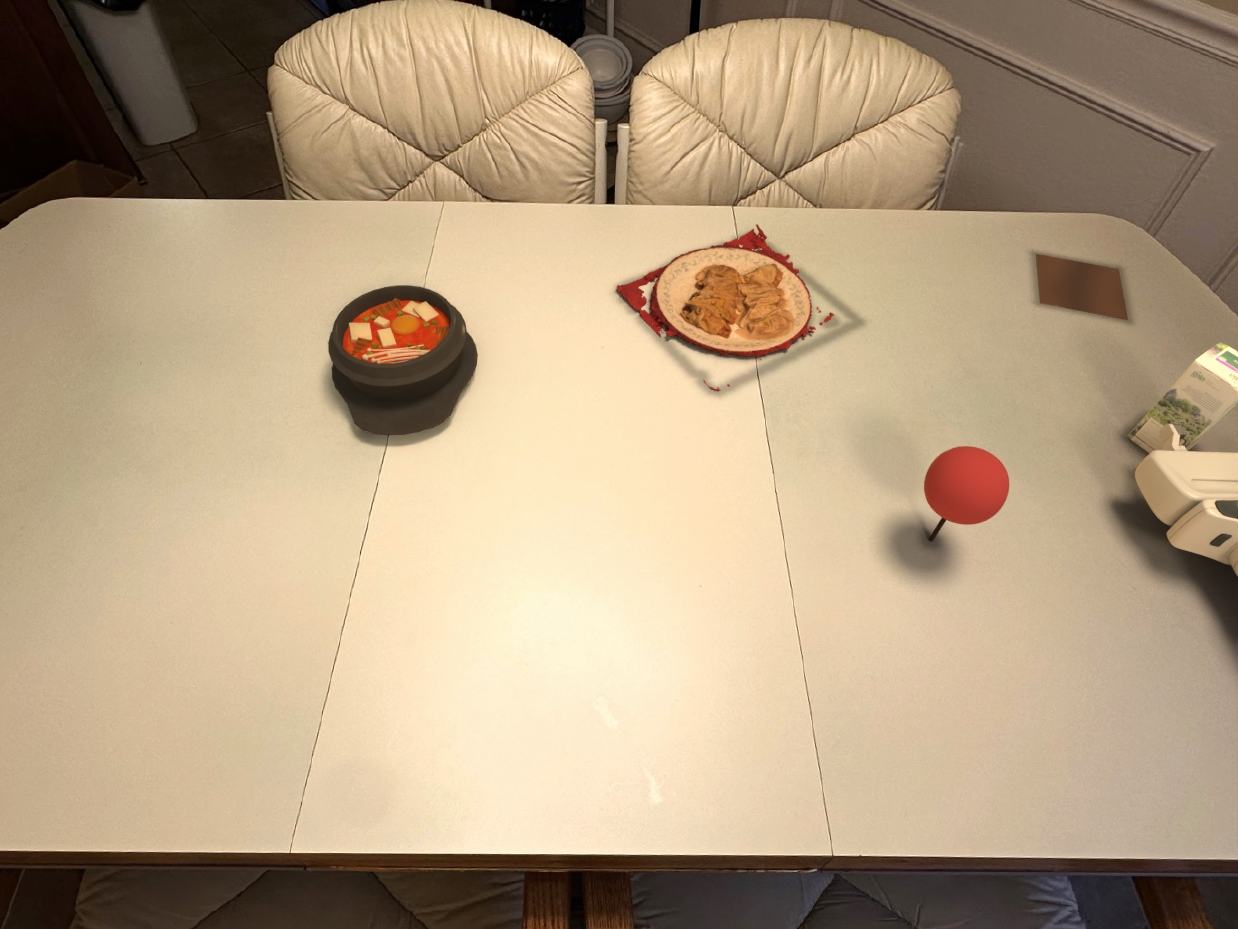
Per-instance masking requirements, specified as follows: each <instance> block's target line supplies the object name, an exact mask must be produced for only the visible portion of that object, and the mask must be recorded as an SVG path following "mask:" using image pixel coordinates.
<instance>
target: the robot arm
mask: <svg viewBox="0 0 1238 929" xmlns="http://www.w3.org/2000/svg"><path fill="white" fill-rule="evenodd" d="M1182 428H1183V426H1182V425H1181V424H1165V426H1164V427H1163V428H1162V429H1161V430H1160V433H1159V434H1160V436H1161V438H1162V440H1163V442H1164V445H1163V449H1162V450H1155V451H1152V452H1151V453H1148V455H1146V456H1145V458H1144V459H1142V461H1141V462H1140V463H1139V464H1138V465H1137V467H1136V469H1135V471H1134V478H1135V481H1136V484H1137V486H1138V488H1139V490H1140V493H1141V494H1142V496H1143V497H1144V499H1145V501H1146V503H1147V505H1148V506H1149V508H1150V509H1151V511H1152V513H1153V514H1154V515H1155V516H1156V518H1157V519H1158V520H1160V522H1162V523H1164V524H1165V525H1167V526H1170V528H1168V530H1167V532H1166V537H1167V539H1168V542H1169V544H1171V545H1172V546H1173V547H1174V548H1176V549H1179V550H1183V551H1186V552H1190V553H1193V554H1197V555H1200V556H1204V557H1206V558H1209V559H1212V560H1214V561H1217V562H1219V563H1222V564H1224V565H1228V566H1231V568H1232V570H1233V571H1234V573H1235V575H1236V577H1238V452H1225V451H1223V452H1221V451H1195V450H1193V451H1192V450H1189V451H1187V449H1186V448H1185V446H1179V442H1180V441H1181V439H1183V438H1184V437H1185V436H1186V435H1187V434H1186V432H1185V430H1184V429H1182Z"/></svg>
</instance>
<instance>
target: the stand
mask: <svg viewBox="0 0 1238 929" xmlns="http://www.w3.org/2000/svg"><path fill="white" fill-rule="evenodd" d="M1035 261H1036V262H1035V263H1036V271H1037V285H1038V297H1039V304H1041V305H1046V306H1047V305H1048V306H1052V307H1057V308H1062V309H1067V310H1072V311H1077V312H1083V313H1087V314H1092V315H1098V316H1104V317H1109V318H1113V319H1120V320H1124V321H1129V317H1128V316H1129V315H1128V311H1127V306H1126V302H1125V296H1124V290H1123V284H1122V280H1121V275H1120V273H1121V272H1120V269H1119V268H1115V267H1110V266H1105V265H1100V264H1095V263H1088V262H1083V261H1078V260H1073V259H1066V258H1061V257H1056V256H1052V255H1051V256H1050V255H1045V254H1039V253H1035Z"/></svg>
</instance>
